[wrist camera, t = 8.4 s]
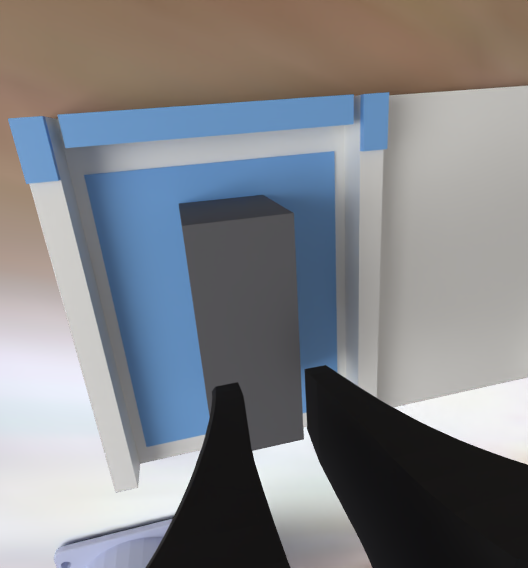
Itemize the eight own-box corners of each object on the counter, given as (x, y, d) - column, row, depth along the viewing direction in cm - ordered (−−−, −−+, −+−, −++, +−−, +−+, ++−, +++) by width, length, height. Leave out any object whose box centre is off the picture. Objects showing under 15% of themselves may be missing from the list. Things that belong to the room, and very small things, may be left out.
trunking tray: (532, 364, 25) (576, 392, 23) (121, 453, 21) (114, 501, 18) (585, 82, 20) (653, 74, 17) (35, 122, 15) (5, 118, 12)
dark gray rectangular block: (275, 377, 20) (303, 439, 16) (205, 390, 19) (215, 459, 15) (262, 194, 17) (293, 212, 13) (178, 203, 16) (181, 225, 12)
